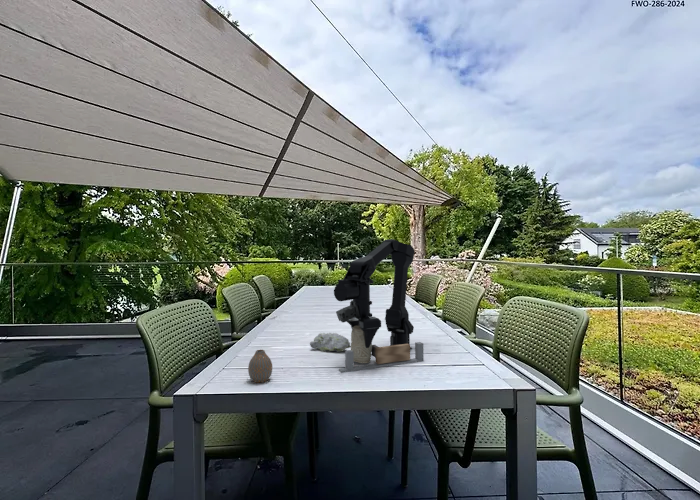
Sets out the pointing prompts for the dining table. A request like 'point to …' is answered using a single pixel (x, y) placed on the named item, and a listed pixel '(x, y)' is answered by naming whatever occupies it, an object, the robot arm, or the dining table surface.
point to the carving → (360, 346)
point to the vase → (260, 367)
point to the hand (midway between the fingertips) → (361, 344)
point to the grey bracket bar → (350, 364)
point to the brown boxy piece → (391, 353)
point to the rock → (330, 342)
